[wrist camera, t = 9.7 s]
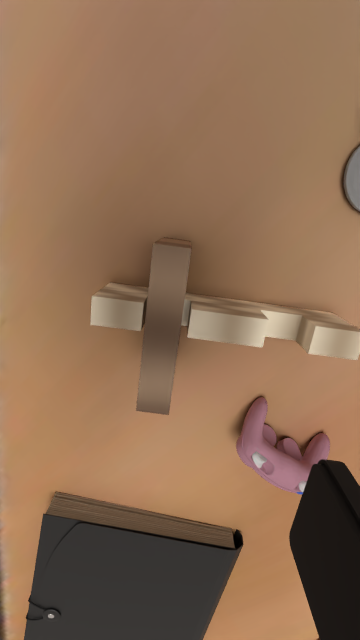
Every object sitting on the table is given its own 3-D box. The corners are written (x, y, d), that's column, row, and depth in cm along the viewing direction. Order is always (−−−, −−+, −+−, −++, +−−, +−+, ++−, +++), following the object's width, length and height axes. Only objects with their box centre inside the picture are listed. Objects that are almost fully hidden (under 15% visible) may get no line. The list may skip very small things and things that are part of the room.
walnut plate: (164, 237, 28) (153, 243, 19) (190, 240, 28) (191, 248, 19) (151, 355, 32) (136, 410, 22) (174, 358, 32) (168, 414, 22)
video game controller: (235, 408, 35) (226, 467, 30) (260, 391, 32) (255, 453, 27) (302, 447, 37) (305, 509, 32) (333, 434, 34) (341, 501, 29)
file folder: (39, 516, 34) (246, 556, 36) (54, 486, 38) (239, 523, 40) (14, 687, 44) (177, 712, 45) (28, 649, 48) (178, 673, 49)
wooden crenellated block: (108, 306, 30) (90, 324, 25) (110, 282, 30) (91, 295, 24) (325, 335, 31) (357, 360, 25) (332, 312, 30) (366, 332, 24)
